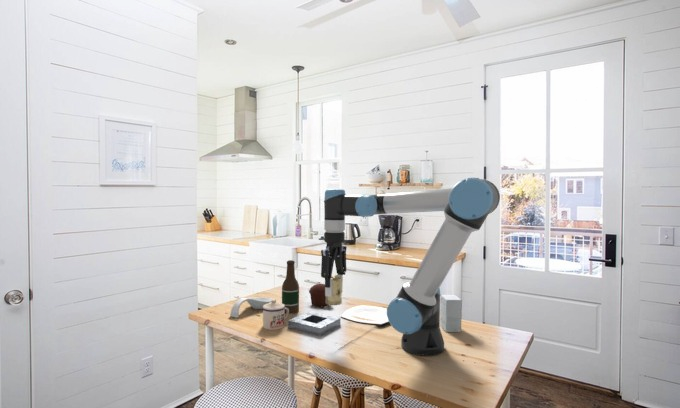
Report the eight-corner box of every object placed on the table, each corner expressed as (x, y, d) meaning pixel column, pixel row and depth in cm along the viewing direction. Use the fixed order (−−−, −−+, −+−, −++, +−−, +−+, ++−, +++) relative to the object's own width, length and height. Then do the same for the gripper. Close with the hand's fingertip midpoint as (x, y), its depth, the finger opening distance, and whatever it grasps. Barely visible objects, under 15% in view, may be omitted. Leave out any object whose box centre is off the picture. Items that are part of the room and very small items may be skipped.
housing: (340, 327, 155) (340, 317, 155) (320, 338, 144) (320, 328, 144) (309, 320, 164) (309, 311, 164) (287, 330, 152) (287, 320, 152)
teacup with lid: (271, 334, 148) (271, 304, 148) (257, 328, 154) (257, 299, 154) (295, 326, 157) (295, 298, 156) (281, 321, 163) (281, 294, 163)
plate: (383, 331, 153) (383, 326, 153) (334, 321, 164) (334, 316, 164) (403, 315, 173) (403, 311, 173) (358, 307, 184) (358, 303, 184)
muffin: (336, 303, 188) (336, 283, 188) (324, 309, 179) (324, 288, 178) (317, 300, 194) (317, 280, 194) (303, 305, 185) (304, 285, 185)
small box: (461, 332, 151) (462, 299, 151) (445, 332, 151) (446, 300, 151) (454, 325, 159) (455, 294, 159) (439, 325, 159) (440, 294, 159)
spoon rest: (258, 302, 190) (258, 288, 190) (277, 305, 185) (277, 291, 185) (224, 316, 170) (224, 300, 169) (244, 320, 164) (244, 304, 164)
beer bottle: (302, 312, 175) (302, 260, 174) (291, 316, 168) (291, 263, 167) (289, 309, 179) (289, 258, 178) (278, 313, 172) (278, 261, 172)
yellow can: (345, 302, 141) (345, 276, 141) (336, 306, 136) (336, 279, 135) (331, 299, 144) (331, 273, 144) (322, 303, 139) (322, 276, 139)
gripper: (339, 228, 149) (339, 287, 150) (310, 232, 133) (310, 298, 134) (356, 229, 145) (355, 289, 146) (328, 234, 129) (327, 301, 130)
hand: (333, 293), depth 140 cm, fingers closed on yellow can, 6 cm apart
